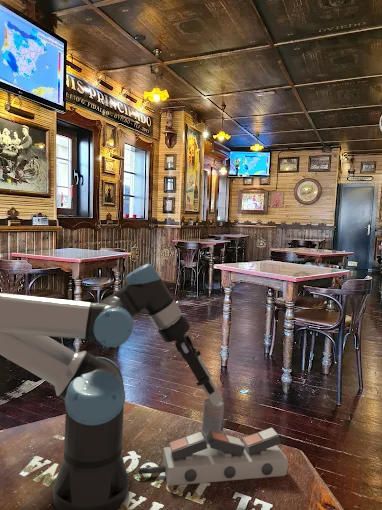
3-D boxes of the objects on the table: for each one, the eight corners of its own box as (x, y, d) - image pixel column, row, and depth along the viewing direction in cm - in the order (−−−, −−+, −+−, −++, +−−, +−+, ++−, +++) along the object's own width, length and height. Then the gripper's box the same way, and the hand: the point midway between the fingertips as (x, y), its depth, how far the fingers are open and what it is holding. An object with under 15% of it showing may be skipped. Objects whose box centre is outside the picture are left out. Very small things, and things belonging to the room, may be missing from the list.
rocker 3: (249, 455, 86) (247, 446, 86) (243, 445, 90) (242, 437, 90) (280, 443, 88) (279, 435, 88) (273, 434, 92) (271, 426, 92)
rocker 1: (173, 460, 83) (171, 451, 82) (170, 450, 87) (168, 442, 86) (207, 448, 84) (205, 439, 84) (203, 438, 88) (201, 430, 88)
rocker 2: (210, 448, 84) (213, 439, 84) (206, 438, 88) (209, 430, 88) (242, 455, 86) (245, 446, 86) (236, 446, 90) (239, 437, 90)
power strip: (139, 489, 79) (141, 466, 79) (137, 465, 87) (138, 444, 87) (287, 476, 86) (288, 455, 86) (272, 455, 94) (273, 436, 94)
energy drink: (221, 442, 99) (224, 398, 99) (221, 454, 94) (224, 407, 93) (201, 440, 100) (204, 396, 99) (200, 452, 94) (203, 405, 94)
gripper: (189, 327, 80) (237, 404, 83) (177, 302, 105) (214, 363, 108) (160, 345, 80) (209, 423, 83) (154, 317, 104) (192, 377, 107)
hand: (212, 389), depth 95 cm, fingers open, 13 cm apart
